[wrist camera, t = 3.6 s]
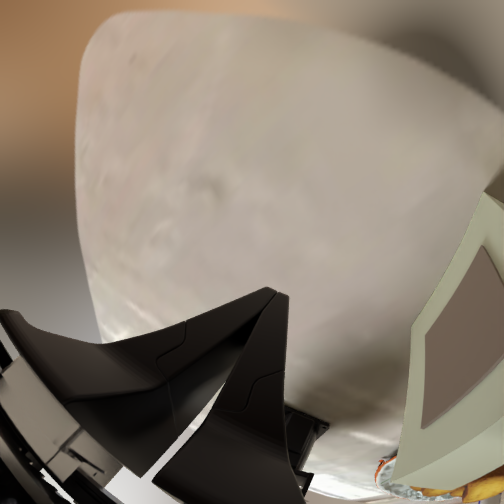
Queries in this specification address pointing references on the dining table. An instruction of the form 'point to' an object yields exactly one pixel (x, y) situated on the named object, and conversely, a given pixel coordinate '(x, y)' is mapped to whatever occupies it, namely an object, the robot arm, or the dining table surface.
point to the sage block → (458, 366)
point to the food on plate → (469, 492)
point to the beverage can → (491, 500)
